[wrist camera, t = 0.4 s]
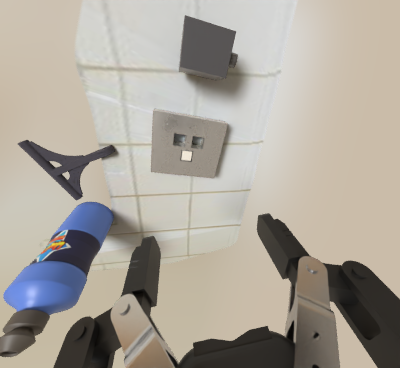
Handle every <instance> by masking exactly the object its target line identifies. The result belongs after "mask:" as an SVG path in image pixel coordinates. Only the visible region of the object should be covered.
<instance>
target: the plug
mask: <svg viewBox="0 0 400 368" xmlns="http://www.w3.org/2000/svg"><path fill="white" fill-rule="evenodd" d="M235 34H236V31H233V30H230V29H227V28H224V27H220V26H217V25H214V24H211V23H208V22H205V21H201V20H198V19H195V18H192V17H189V16H186V15H185V19H184V26H183V34H182V44H181V54H180V65H179V72H183V73H187V74H192V75H196V76H200V77H204V78H208V79H213V80H220V79H224V78H226V75H227V70H228V66H229V67H233V68H234V67H235V65H236V62H237V57H238V55H237V54H235V53H231V52H232V48H233V43H234V39H235Z"/></svg>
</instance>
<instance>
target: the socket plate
mask: <svg viewBox="0 0 400 368" xmlns="http://www.w3.org/2000/svg"><path fill="white" fill-rule="evenodd" d="M227 126H228V124H227V123H226V122H224V121H219V120H214V119H208V118H203V117H198V116H192V115H187V114H181V113H176V112H170V111H165V110H159V109H154V110H153V126H152V154H151V172H157V173H167V174H177V175H187V176H197V177H206V178H214V177H215V173H216V169H217V165H218V161H219V157H220V154H221V150H222V146H223V142H224V138H225V134H226V130H227ZM174 133H177V134H183V135H185V141H184V143H182V142H175V141H173V140H174ZM193 136H196V137H202V139H201V145H196V144H192V138H193ZM182 150H188V151H192V156H191V161H186V160H181V151H182Z"/></svg>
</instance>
